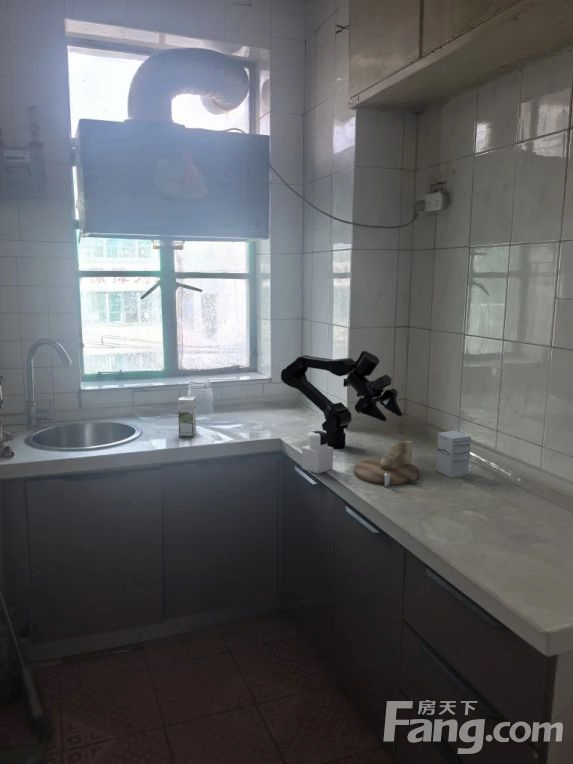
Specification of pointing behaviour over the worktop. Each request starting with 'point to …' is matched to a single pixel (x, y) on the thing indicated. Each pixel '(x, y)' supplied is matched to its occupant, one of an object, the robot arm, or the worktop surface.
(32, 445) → the worktop surface
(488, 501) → the worktop surface
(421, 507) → the worktop surface
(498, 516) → the worktop surface
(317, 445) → the medicine bottle
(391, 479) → the walnut flange plate
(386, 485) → the steel dowel
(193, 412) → the syrup box
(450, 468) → the supplement box
